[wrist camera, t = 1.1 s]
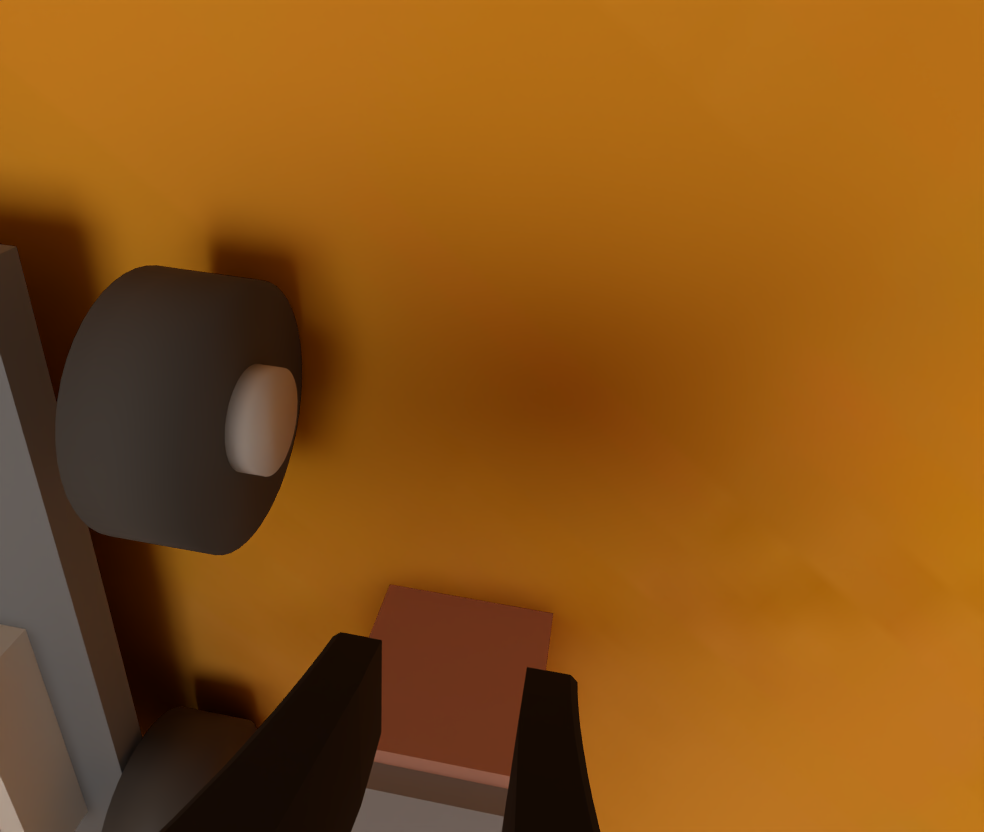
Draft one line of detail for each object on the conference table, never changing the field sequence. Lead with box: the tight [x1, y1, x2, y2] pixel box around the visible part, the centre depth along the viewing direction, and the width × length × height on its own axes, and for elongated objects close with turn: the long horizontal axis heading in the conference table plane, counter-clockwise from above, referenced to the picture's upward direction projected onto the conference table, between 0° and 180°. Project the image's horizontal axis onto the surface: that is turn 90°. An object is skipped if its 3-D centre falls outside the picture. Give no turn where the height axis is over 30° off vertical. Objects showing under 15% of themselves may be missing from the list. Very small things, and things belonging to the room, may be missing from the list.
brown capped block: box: [351, 585, 553, 832], centre depth 22 cm, size 5×5×6 cm
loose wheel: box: [55, 265, 302, 555], centre depth 17 cm, size 6×3×6 cm, turn 175°
